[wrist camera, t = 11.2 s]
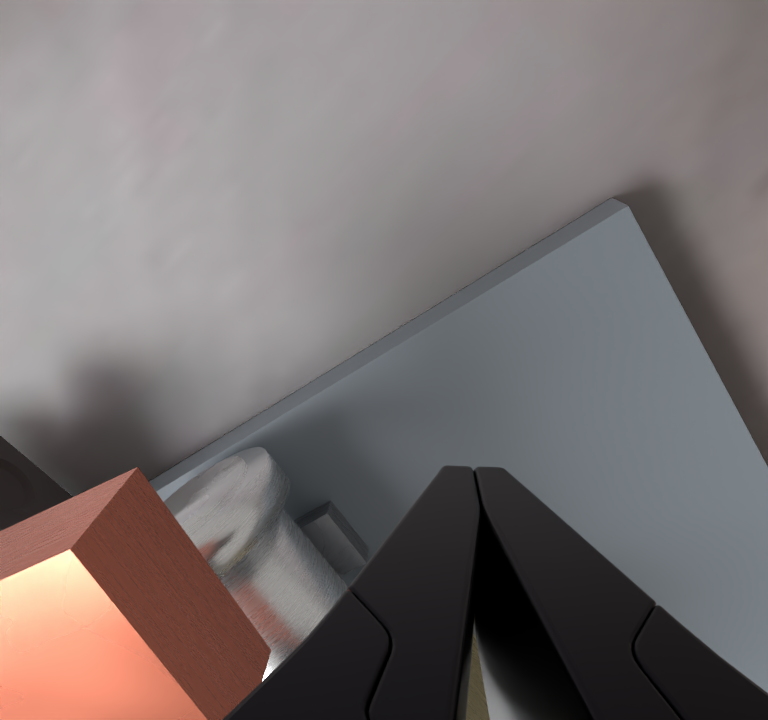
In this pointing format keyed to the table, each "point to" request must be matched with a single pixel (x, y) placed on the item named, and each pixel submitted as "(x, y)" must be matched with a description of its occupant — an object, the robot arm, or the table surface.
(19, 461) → the clip-on lamp
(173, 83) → the table surface
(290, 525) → the pipe and valve
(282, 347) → the table surface
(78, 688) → the lever
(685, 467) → the slate board
